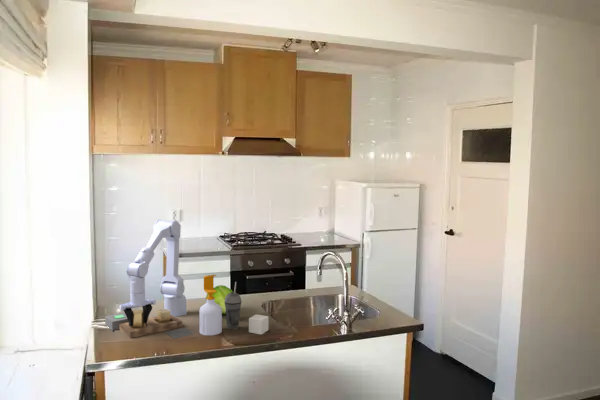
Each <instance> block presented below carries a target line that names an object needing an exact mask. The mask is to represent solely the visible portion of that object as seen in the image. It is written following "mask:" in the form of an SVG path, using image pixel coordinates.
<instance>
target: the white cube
mask: <svg viewBox="0 0 600 400" xmlns="http://www.w3.org/2000/svg"><path fill="white" fill-rule="evenodd" d="M268 331H269V316H267V315H263V314H257V313H256V314H254V315H252V316H251V317H249V318H248V333H251V334H257V335H264V334H265V333H266V332H268Z"/></svg>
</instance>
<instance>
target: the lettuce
mask: <svg viewBox="0 0 600 400" xmlns="http://www.w3.org/2000/svg"><path fill="white" fill-rule="evenodd" d="M214 289H215V290H216V291H217V292H215V293H214V294H213V297H215V303H216V304H218V305H219V306H221V308H222V315H223V314H225V315H226V307H225V303H224V301H225V297H226V296H227V294H229V293H231V292H234V290H232V289H231V288H229V287H227V286H226V285H222V284H220V285H216V286H214ZM207 297H209V294H207V293H206V297H205V303H206V302H207Z"/></svg>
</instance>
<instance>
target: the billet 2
mask: <svg viewBox="0 0 600 400" xmlns="http://www.w3.org/2000/svg"><path fill="white" fill-rule="evenodd" d="M156 317H157V322H158V323H159V324H160V323H165V322H170V311H169V310H167V309H164V308H163V309H158V310H156Z"/></svg>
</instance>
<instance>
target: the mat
mask: <svg viewBox="0 0 600 400" xmlns="http://www.w3.org/2000/svg"><path fill="white" fill-rule="evenodd" d="M164 333H165V334H166V335H168V336H169V337H171V338H172V339H177V338H183V337H187V336H191V335H195V332H192V331H191V330H190V329H187V328H186V327H179V328H175V329H170V330H166V331H164Z"/></svg>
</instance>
